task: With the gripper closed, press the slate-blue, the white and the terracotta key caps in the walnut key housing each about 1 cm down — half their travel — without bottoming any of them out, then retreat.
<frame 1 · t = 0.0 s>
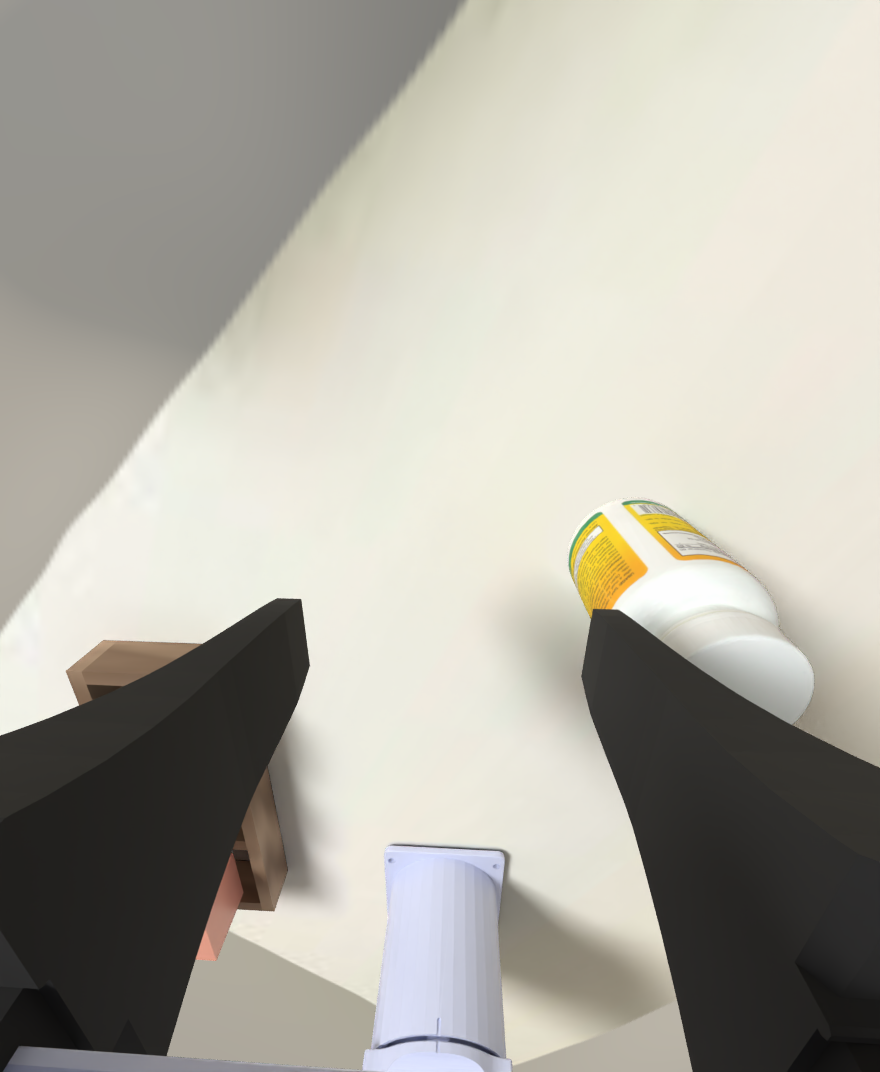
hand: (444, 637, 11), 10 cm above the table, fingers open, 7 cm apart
supplement bottle: (620, 547, 21), on the table
key terracotta: (192, 903, 27), point 4 cm above the table, slide at 0.0 cm
key housing: (207, 770, 28), on the table
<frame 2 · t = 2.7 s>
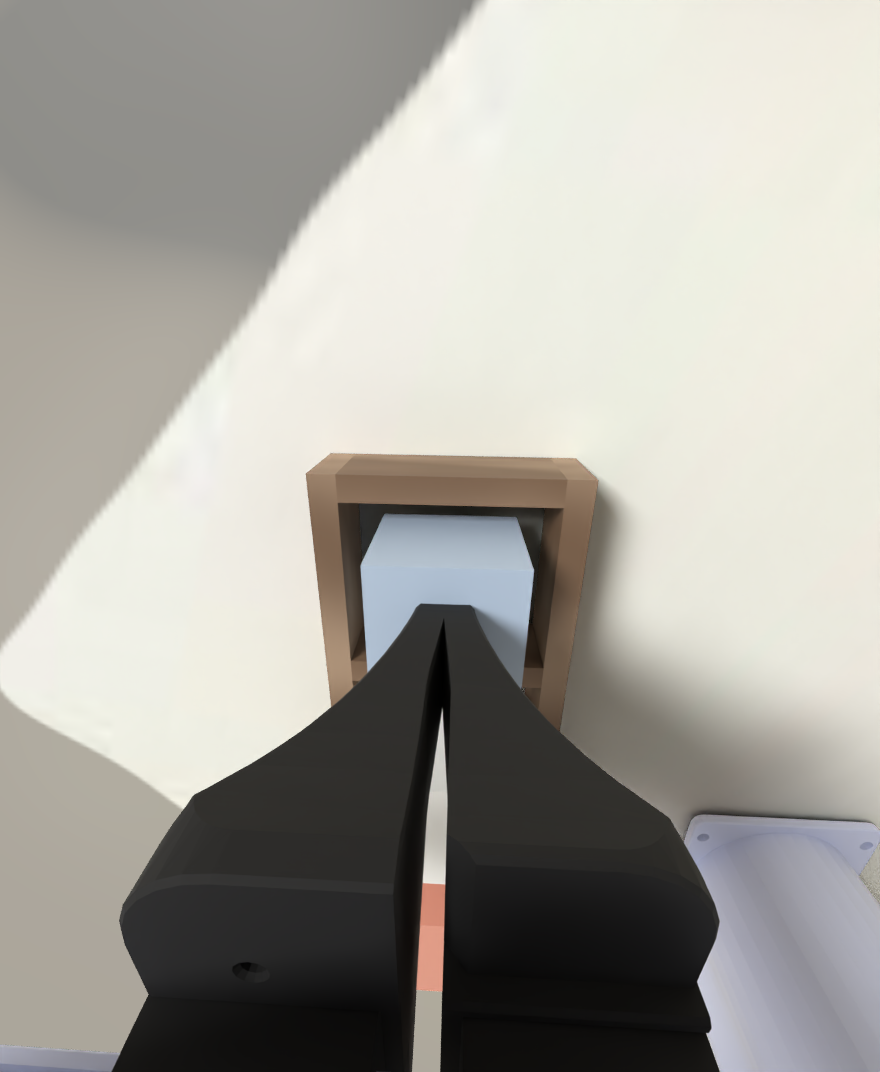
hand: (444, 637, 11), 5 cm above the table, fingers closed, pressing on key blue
key blue: (447, 602, 13), point 3 cm above the table, slide at 0.9 cm, touching gripper
key terracotta: (440, 901, 17), point 4 cm above the table, slide at 0.0 cm
key housing: (446, 694, 18), on the table
key white: (443, 784, 14), point 4 cm above the table, slide at 0.0 cm
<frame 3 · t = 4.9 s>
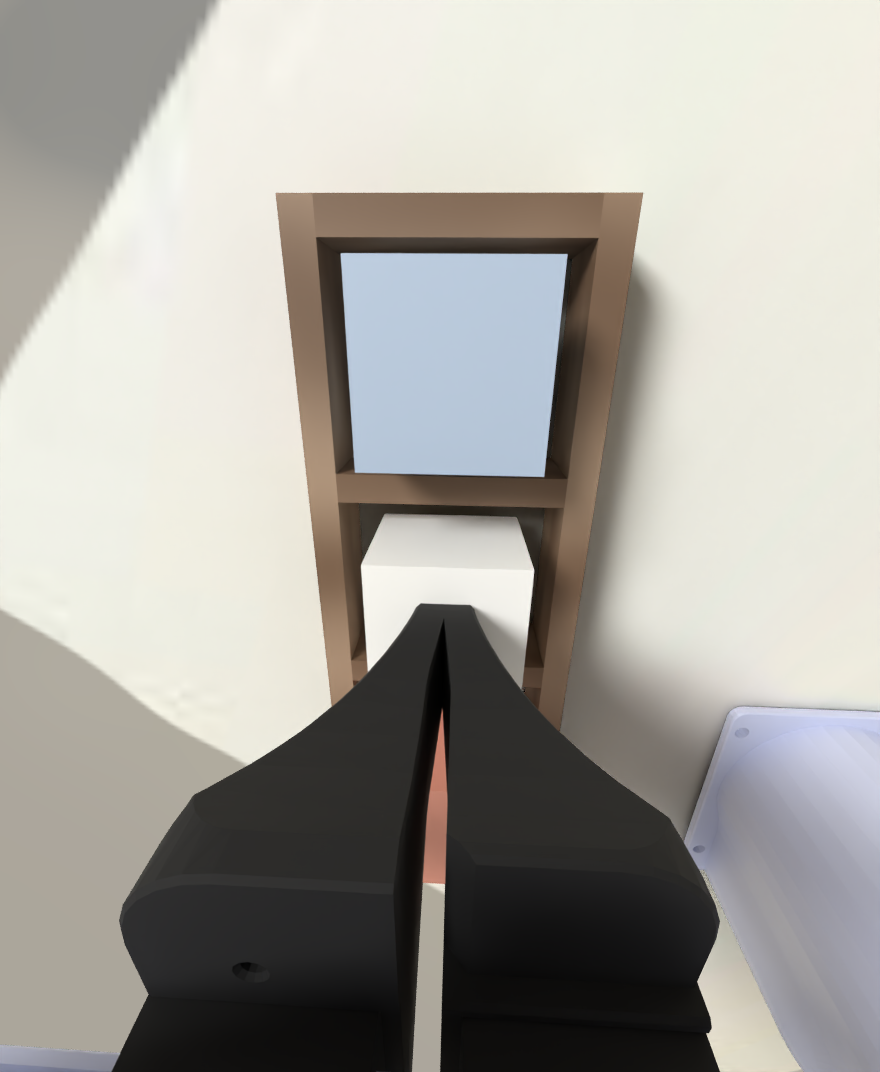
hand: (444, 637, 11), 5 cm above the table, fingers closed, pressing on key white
key blue: (452, 370, 10), point 3 cm above the table, slide at 0.9 cm
key terracotta: (443, 784, 14), point 4 cm above the table, slide at 0.0 cm
key housing: (450, 555, 16), on the table
key white: (447, 602, 13), point 3 cm above the table, slide at 0.9 cm, touching gripper
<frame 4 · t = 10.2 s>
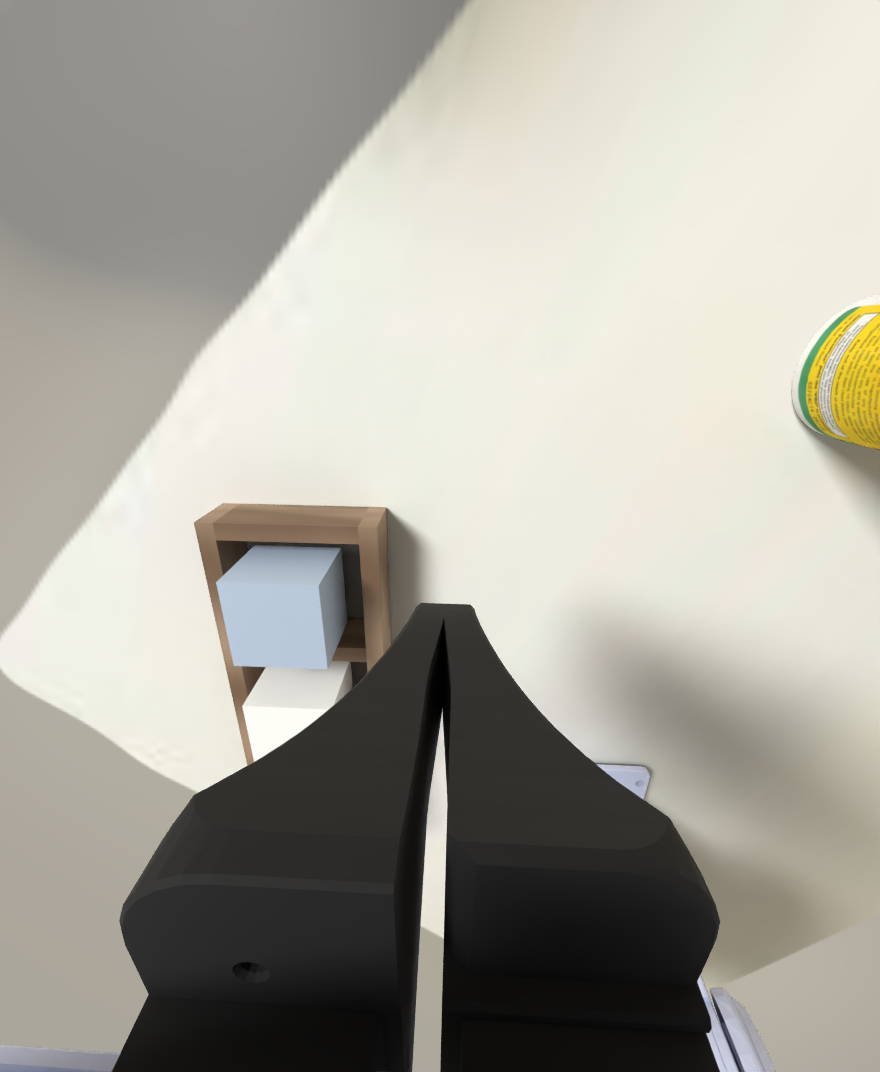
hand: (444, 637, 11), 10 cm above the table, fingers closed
key blue: (289, 604, 19), point 3 cm above the table, slide at 0.9 cm
supplement bottle: (852, 369, 18), on the table
key housing: (322, 670, 25), on the table
key white: (304, 712, 22), point 3 cm above the table, slide at 0.9 cm
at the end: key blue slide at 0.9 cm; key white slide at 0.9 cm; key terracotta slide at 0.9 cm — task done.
